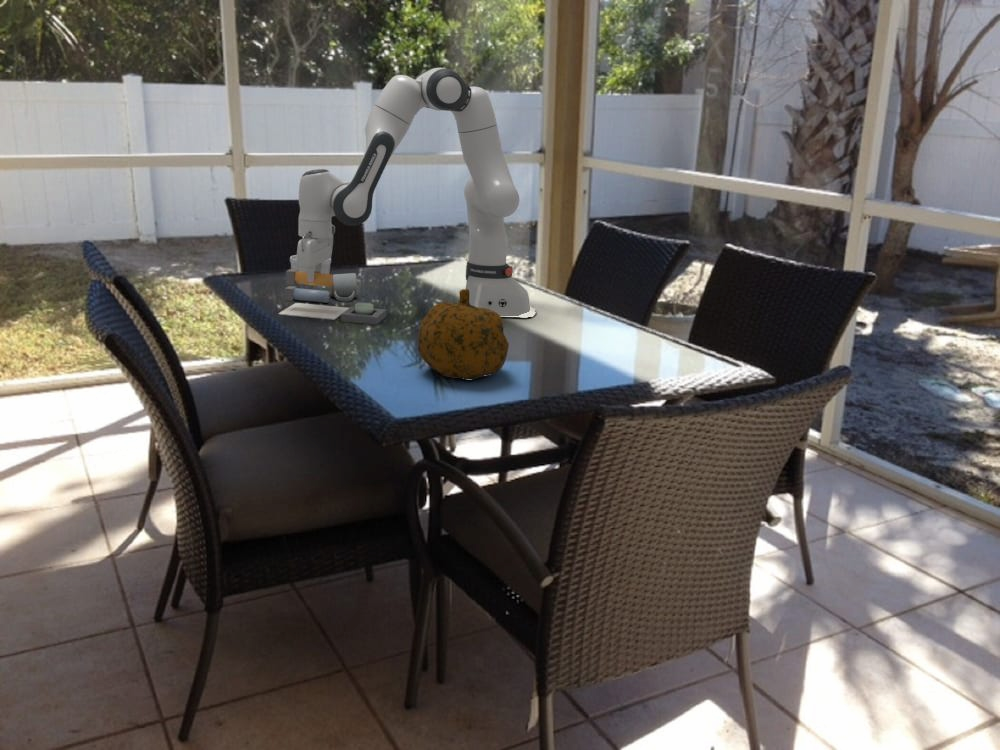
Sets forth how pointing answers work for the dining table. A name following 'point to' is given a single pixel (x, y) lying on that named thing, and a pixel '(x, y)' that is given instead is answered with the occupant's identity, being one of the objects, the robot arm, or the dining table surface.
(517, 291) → the robot arm
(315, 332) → the dining table surface
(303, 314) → the paper
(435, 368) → the decorative pumpkin
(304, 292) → the marker blue
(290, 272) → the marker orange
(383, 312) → the button base
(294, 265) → the ramekin
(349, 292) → the ceramic mug
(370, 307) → the button
